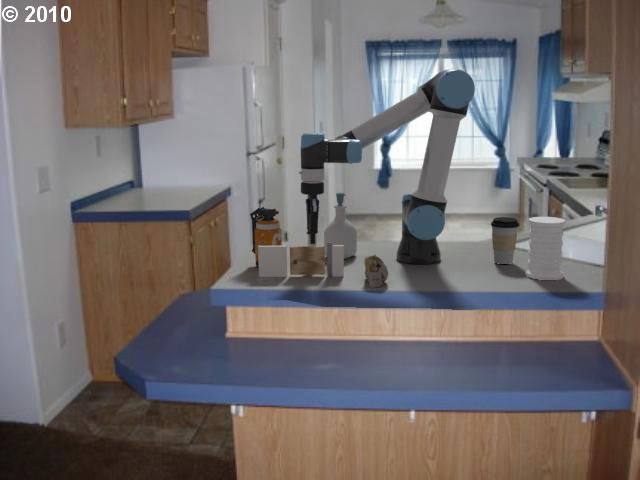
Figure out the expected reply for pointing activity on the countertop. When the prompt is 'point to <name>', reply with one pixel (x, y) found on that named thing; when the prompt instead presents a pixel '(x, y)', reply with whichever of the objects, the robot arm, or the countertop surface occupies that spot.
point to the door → (307, 260)
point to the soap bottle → (341, 230)
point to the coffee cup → (504, 239)
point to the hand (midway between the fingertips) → (312, 252)
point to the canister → (265, 229)
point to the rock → (375, 271)
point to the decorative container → (545, 248)
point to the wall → (276, 260)
